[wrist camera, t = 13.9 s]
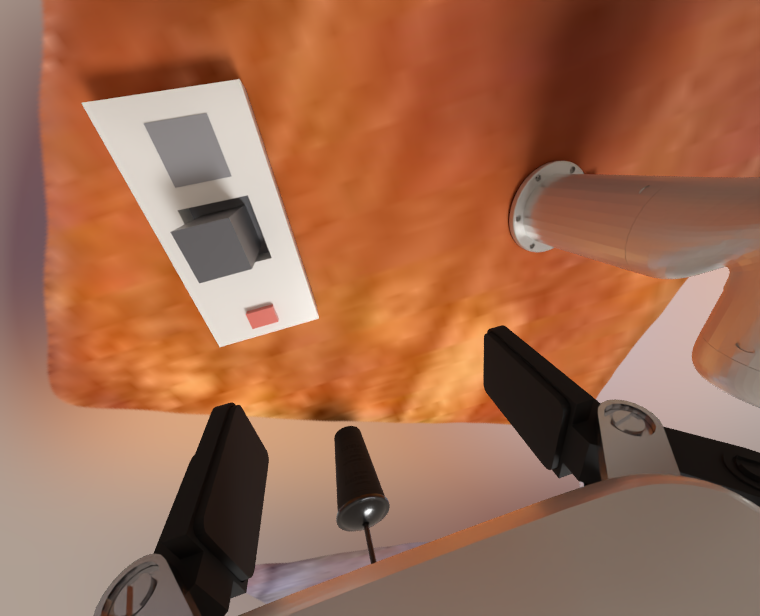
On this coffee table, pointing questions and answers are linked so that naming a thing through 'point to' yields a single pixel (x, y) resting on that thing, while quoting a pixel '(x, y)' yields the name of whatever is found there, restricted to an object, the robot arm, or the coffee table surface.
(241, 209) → the plug
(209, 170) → the power strip
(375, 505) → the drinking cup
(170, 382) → the coffee table surface
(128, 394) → the coffee table surface
